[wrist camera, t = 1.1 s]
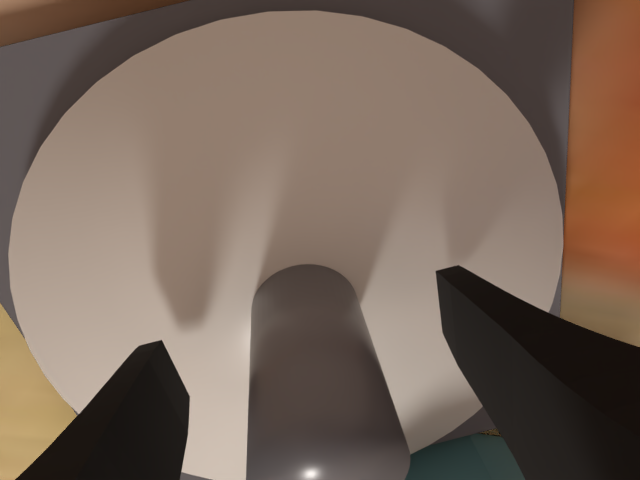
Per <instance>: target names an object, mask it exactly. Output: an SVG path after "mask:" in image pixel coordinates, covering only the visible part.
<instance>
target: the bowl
mask: <svg viewBox="0 0 640 480" xmlns="http://www.w3.org/2000/svg"><path fill="white" fill-rule="evenodd" d="M405 480H525V478H524V476H523V474H522V472H521V470H520V468H519V466H518V464H517V462H516V460H515V458H514V456H513V455H512V453H511V451H510V449H509V448H508V446H507V444H506V442H505V441H504V439H503V437H500V436H492V435H485V434H478V433H476V434H472V435H468V436H464V437H460V438H456V439H452V440H448V441H444V442H440V443H436V444H432V445H429V446H427V447H425V448H423V449H421V450H419V451H417V452H415V453H413V454H411V455H410V467H409V470H408V474H407V476H406V478H405Z"/></svg>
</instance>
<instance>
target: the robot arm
mask: <svg viewBox="0 0 640 480" xmlns="http://www.w3.org/2000/svg"><path fill="white" fill-rule="evenodd" d="M436 280H437V289H438V298H439V307H440V316H441V325H442V333H443V335H444V337H445V339H446V342H447V344H448V346H449V348H450V350H451V353H452V355H453V357H454V359H455V361H456V363H457V365H458V367H459V369H460V370H461V372H462V374H463V375H464V377H465V378H466V380H467V382H468V383H469V385H470V386H471V388H472V390H473V391H474V393H475V394H476V396H477V398H478V399H479V401H480V402H481V404H482V406H483V407H484V409H485V410H486V412H487V414H488V415H489V417H490V418H491V420H492V421H493V423H494V425H495V426H496V428H497V429H498V431H499V433H500V434H501V436H502V437H503V439H504V441H505V442H506V444H507V446H508V448H509V449H510V451H511V453H512V455H513V456H514V458H515V460H516V462H517V464H518V466H519V468H520V470H521V472H522V474H523V476H524V478H525V480H640V347H637V346H634V345H630V344H627V343H624V342H621V341H618V340H615V339H612V338H610V337H607V336H604V335H602V334H599V333H596V332H594V331H591V330H588V329H586V328H583V327H580V326H578V325H575V324H573V323H571V322H568V321H566V320H564V319H561V318H559V317H557V316H555V315H553V314H550V313H548V312H546V311H544V310H542V309H539V308H537V307H535V306H533V305H531V304H529V303H527V302H525V301H523V300H521V299H519V298H517V297H516V296H514V295H512V294H510V293H508V292H506V291H504V290H502V289H501V288H499V287H497V286H495V285H493V284H492V283H490V282H488V281H486V280H485V279H483V278H481V277H479V276H478V275H476V274H474V273H472V272H470V271H469V270H467V269H465V268H463V267H461V266H460V265H457V266H453V267H449V268H445V269H441V270H437V271H436ZM189 407H190V396H189V394H188V392H187V390H186V388H185V386H184V384H183V382H182V380H181V377H180V375H179V373H178V371H177V369H176V367H175V365H174V363H173V361H172V359H171V357H170V355H169V353H168V351H167V349H166V347H165V345H164V343H163V341H162V340H159V341H155V342H151V343H147V344H143V345H139V346H138V347H137V348H136V349H135V350H134V351H133V352H132V353H131V354H130V355H129V357H128V358H127V359H126V360H125V361H124V362H123V363H122V365H121V366H120V367H119V368H118V369H117V370H116V372H115V373H114V374H113V375H112V376H111V378H110V379H109V380H108V381H107V382H106V384H105V385H104V386H103V387H102V388H101V389H100V391H99V392H98V393H97V394H96V395H95V396H94V397H93V399H92V400H91V401H90V402H89V403H88V404H87V406H86V407H85V408H84V409H83V410H82V411H81V412H80V414H79V415H78V416H77V417H76V418H75V419H74V420H73V421H72V422H71V423H70V424H69V425H68V427H67V428H66V429H65V430H64V431H63V432H62V433H61V434H60V435H59V436H58V437H57V439H56V440H55V441H54V442H53V443H52V444H51V445H50V446H49V447H48V448H47V449H46V450H45V451H44V452H43V453H42V454H41V455H40V456H39V457H38V458H37V459H36V460H35V461H34V462H33V463H32V464H31V465H30V466H29V467H28V468H27V469H26V470H25V471H24V472H23V473H22V474H21V475H20V476H19V477H18V478H16V479H15V480H180V476H181V471H182V465H183V460H184V454H185V449H186V443H187V437H188V427H189Z"/></svg>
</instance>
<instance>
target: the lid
mask: <svg viewBox="0 0 640 480" xmlns="http://www.w3.org/2000/svg"><path fill="white" fill-rule="evenodd" d="M562 253H563V215H562V210H561V204H560V199H559V194H558V188H557V183H556V181H555V178H554V175H553V172H552V169H551V167H550V164H549V161H548V158H547V155H546V153H545V151H544V149H543V147H542V146H541V144H540V142H539V140H538V138H537V136H536V135H535V133H534V131H533V129H532V127H531V125H530V124H529V122H528V121H527V120H526V118H525V117H524V116H523V115H522V113H521V112H520V111H519V110H518V108H517V107H516V106H515V104H514V103H513V102H512V101H511V99H510V98H509V97H508V96H507V94H505V93H504V92H503V91H502V90H501V89H500V88H499V87H498V86H497V85H496V84H495V83H494V82H492V81H491V80H490V79H489V78H488V77H487V76H486V75H485V74H484V73H483V72H482V71H481V70H479V69H478V68H477V67H475V66H474V65H472V64H471V63H469V62H468V61H466V60H465V59H463V58H462V57H460V56H459V55H457V54H456V53H454V52H453V51H451V50H449V49H448V48H446V47H445V46H443V45H441V44H438V43H436V42H434V41H432V40H430V39H427V38H425V37H423V36H421V35H419V34H417V33H414V32H412V31H410V30H408V29H405V28H402V27H398V26H395V25H391V24H388V23H384V22H381V21H377V20H374V19H370V18H367V17H363V16H356V15H348V14H340V13H332V12H324V11H317V10H315V11H268V12H263V13H257V14H251V15H245V16H239V17H233V18H227V19H222V20H218V21H215V22H212V23H209V24H206V25H203V26H200V27H197V28H194V29H191V30H188V31H185V32H182V33H179V34H176V35H173V36H171V37H169V38H167V39H165V40H164V41H162V42H160V43H158V44H156V45H154V46H152V47H150V48H148V49H146V50H144V51H142V52H140V53H138V54H136V55H134V56H132V57H131V58H129V59H128V60H127V61H125V62H124V63H122V64H121V65H120V66H118V67H117V68H115V69H114V70H113V71H111V72H110V73H108V74H107V75H106V76H104V77H103V78H101V79H100V80H99V81H97V82H96V83H95V84H94V85H93V86H92V87H91V88H90V89H89V90H88V91H87V92H86V93H85V94H84V95H83V96H82V97H81V98H80V99H79V100H78V101H77V102H76V103H75V104H74V105H73V106H72V107H71V108H70V109H69V110H68V111H67V112H66V113H65V114H64V115H63V116H62V118H61V119H60V121H59V122H58V123H57V125H56V126H55V128H54V129H53V130H52V132H51V133H50V134H49V136H48V137H47V139H46V140H45V141H44V143H43V144H42V146H41V147H40V149H39V151H38V153H37V155H36V157H35V159H34V161H33V163H32V165H31V167H30V169H29V171H28V173H27V175H26V177H25V179H24V181H23V184H22V187H21V191H20V194H19V197H18V201H17V204H16V208H15V211H14V214H13V218H12V226H11V234H10V243H9V252H8V258H9V275H10V289H11V293H12V298H13V302H14V307H15V311H16V315H17V320H18V322H19V325H20V327H21V330H22V332H23V335H24V337H25V340H26V342H27V345H28V347H29V350H30V351H31V353H32V355H33V356H34V358H35V360H36V361H37V363H38V365H39V366H40V368H41V370H42V372H43V373H44V375H45V377H46V378H47V379H48V380H49V382H50V383H51V384H52V385H53V387H54V388H55V389H56V390H57V392H58V393H59V394H60V395H61V397H62V398H63V399H64V400H65V401H66V402H67V403H68V404H69V405H70V406H71V407H72V408H73V409H74V410H75V411H76V412H77V413H78V414H80V412H81V411H82V410H83V409H84V408H85V407H86V406H87V404H88V403H89V402H90V401H91V400H92V399H93V397H94V396H95V395H96V394H97V393H98V392H99V391H100V389H101V388H102V387H103V386H104V385H105V384H106V382H107V381H108V380H109V379H110V378H111V376H112V375H113V374H114V373H115V372H116V370H117V369H118V368H119V367H120V366H121V365H122V363H123V362H124V361H125V360H126V359H127V358H128V357H129V355H130V354H131V353H132V352H133V351H134V350H135V349H136V348H137V347H138V346H139V345H143V344H147V343H151V342H155V341H159V340H162V341H163V343H164V345H165V347H166V349H167V351H168V353H169V355H170V357H171V359H172V361H173V363H174V365H175V367H176V369H177V371H178V373H179V375H180V377H181V380H182V382H183V384H184V386H185V388H186V390H187V392H188V394H189V396H190V407H189V427H188V437H187V443H186V449H185V454H184V460H183V465H182V471H181V472H183V473H186V474H190V475H194V476H199V477H203V478H207V479H212V480H405V478H406V476H407V474H408V470H409V467H410V455H411V454H413V453H415V452H417V451H419V450H421V449H423V448H425V447H427V446H429V445H430V444H432V443H433V442H435V441H437V440H438V439H440V438H442V437H443V436H445V435H446V434H448V433H450V432H451V431H453V430H454V429H455V428H457V427H458V426H459V425H461V424H462V423H463V422H465V421H466V420H467V419H469V418H470V417H471V416H473V415H474V414H475V413H476V412H477V411H478V410H480V409H481V408H482V407H483V406H482V404H481V402H480V401H479V399H478V398H477V396H476V394H475V393H474V391H473V390H472V388H471V386H470V385H469V383H468V382H467V380H466V378H465V377H464V375H463V374H462V372H461V370H460V369H459V367H458V365H457V363H456V361H455V359H454V357H453V355H452V353H451V350H450V348H449V346H448V344H447V342H446V339H445V337H444V335H443V333H442V325H441V316H440V307H439V298H438V289H437V280H436V271H437V270H441V269H445V268H449V267H453V266H457V265H460V266H461V267H463V268H465V269H467V270H469V271H470V272H472V273H474V274H476V275H478V276H479V277H481V278H483V279H485V280H486V281H488V282H490V283H492V284H493V285H495V286H497V287H499V288H501V289H502V290H504V291H506V292H508V293H510V294H512V295H514V296H516V297H517V298H519V299H521V300H523V301H525V302H527V303H529V304H531V305H533V306H535V307H537V308H539V309H542V310H544V311H546V312H548V313H549V310H550V308H551V305H552V303H553V299H554V296H555V292H556V288H557V284H558V280H559V276H560V270H561V261H562Z"/></svg>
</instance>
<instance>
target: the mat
mask: <svg viewBox="0 0 640 480" xmlns="http://www.w3.org/2000/svg"><path fill="white" fill-rule="evenodd" d="M315 10H317V11H324V12H332V13H340V14H348V15H356V16H363V17H367V18H370V19H374V20H377V21H381V22H384V23H388V24H391V25H395V26H398V27H402V28H405V29H408V30H410V31H412V32H414V33H417V34H419V35H421V36H423V37H425V38H427V39H430V40H432V41H434V42H436V43H438V44H441V45H443V46H445V47H446V48H448V49H449V50H451V51H453V52H454V53H456V54H457V55H459V56H460V57H462V58H463V59H465V60H466V61H468V62H469V63H471V64H472V65H474V66H475V67H477V68H478V69H479V70H481V71H482V72H483V73H484V74H485V75H486V76H487V77H488V78H489V79H490V80H491V81H492V82H494V83H495V84H496V85H497V86H498V87H499V88H500V89H501V90H502V91H503V92H504V93H505V94H507V96H508V97H509V98H510V99H511V101H512V102H513V103H514V104H515V106H516V107H517V108H518V110H519V111H520V112H521V113H522V115H523V116H524V117H525V118H526V120H527V121H528V122H529V124H530V125H531V127H532V129H533V131H534V133H535V135H536V136H537V138H538V140H539V142H540V144H541V146H542V147H543V149H544V151H545V153H546V155H547V158H548V161H549V164H550V167H551V169H552V172H553V175H554V178H555V181H556V183H557V188H558V194H559V199H560V204H561V210H562V215H563V235H564V213H565V190H566V168H567V145H568V123H569V101H570V78H571V56H572V34H573V11H574V0H189V1H185V2H181V3H177V4H173V5H169V6H165V7H161V8H157V9H153V10H149V11H145V12H141V13H137V14H133V15H128V16H124V17H120V18H116V19H112V20H108V21H104V22H100V23H96V24H92V25H88V26H84V27H80V28H76V29H72V30H68V31H63V32H59V33H55V34H51V35H47V36H43V37H39V38H35V39H31V40H27V41H23V42H19V43H15V44H11V45H7V46H2V47H0V303H1V304H2V306H3V307H4V309H5V310H6V312H7V313H8V315H9V316H10V318H11V319H12V320H13V322H14V323H15V325H16V326H17V328H18V329H19V331H20V332H21V334H22V335H23V332H22V330H21V327H20V325H19V322H18V320H17V315H16V311H15V307H14V302H13V298H12V293H11V289H10V275H9V258H8V252H9V243H10V234H11V226H12V218H13V214H14V211H15V208H16V204H17V201H18V197H19V194H20V191H21V187H22V184H23V181H24V179H25V177H26V175H27V173H28V171H29V169H30V167H31V165H32V163H33V161H34V159H35V157H36V155H37V153H38V151H39V149H40V147H41V146H42V144H43V143H44V141H45V140H46V139H47V137H48V136H49V134H50V133H51V132H52V130H53V129H54V128H55V126H56V125H57V123H58V122H59V121H60V119H61V118H62V116H63V115H64V114H65V113H66V112H67V111H68V110H69V109H70V108H71V107H72V106H73V105H74V104H75V103H76V102H77V101H78V100H79V99H80V98H81V97H82V96H83V95H84V94H85V93H86V92H87V91H88V90H89V89H90V88H91V87H92V86H93V85H94V84H95V83H96V82H97V81H99V80H100V79H101V78H103V77H104V76H106V75H107V74H108V73H110V72H111V71H113V70H114V69H115V68H117V67H118V66H120V65H121V64H122V63H124V62H125V61H127V60H128V59H129V58H131V57H132V56H134V55H136V54H138V53H140V52H142V51H144V50H146V49H148V48H150V47H152V46H154V45H156V44H158V43H160V42H162V41H164V40H165V39H167V38H169V37H171V36H173V35H176V34H179V33H182V32H185V31H188V30H191V29H194V28H197V27H200V26H203V25H206V24H209V23H212V22H215V21H218V20H222V19H227V18H233V17H239V16H245V15H251V14H257V13H263V12H268V11H315ZM562 257H563V253H562ZM561 280H562V261H561V270H560V276H559V280H558V284H557V288H556V292H555V296H554V299H553V303H552V305H551V308H550V310H549V313H550V314H553V315H555V316H557V317H559V318H560V302H561ZM23 337H24V335H23ZM24 338H25V337H24ZM72 409H73V408H72ZM73 410H74V409H73ZM74 412H75V413H76V415H77V416H78V415H79V414H78V413H77V412H76V411H75V410H74ZM495 428H496V426H495V425H494V423H493V421H492V420H491V418H490V417H489V415H488V414H487V412H486V410H485V409H484V407H482V408H481V409H480V410H478V411H477V412H476V413H475V414H474V415H473V416H471V417H470V418H469V419H467V420H466V421H465V422H463V423H462V424H461V425H459V426H458V427H457V428H455V429H454V430H453V431H451V432H450V433H448V434H446V435H445V436H443V437H442V438H440V439H438V440H437V441H435V442H433V443H432V444H436V443H440V442H444V441H448V440H452V439H456V438H460V437H464V436H468V435H472V434H476V433H480V432H484V431H488V430H491V429H495ZM432 444H430V445H432ZM180 480H212V479H207V478H203V477H199V476H194V475H190V474H186V473H183V472H181V476H180Z"/></svg>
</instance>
